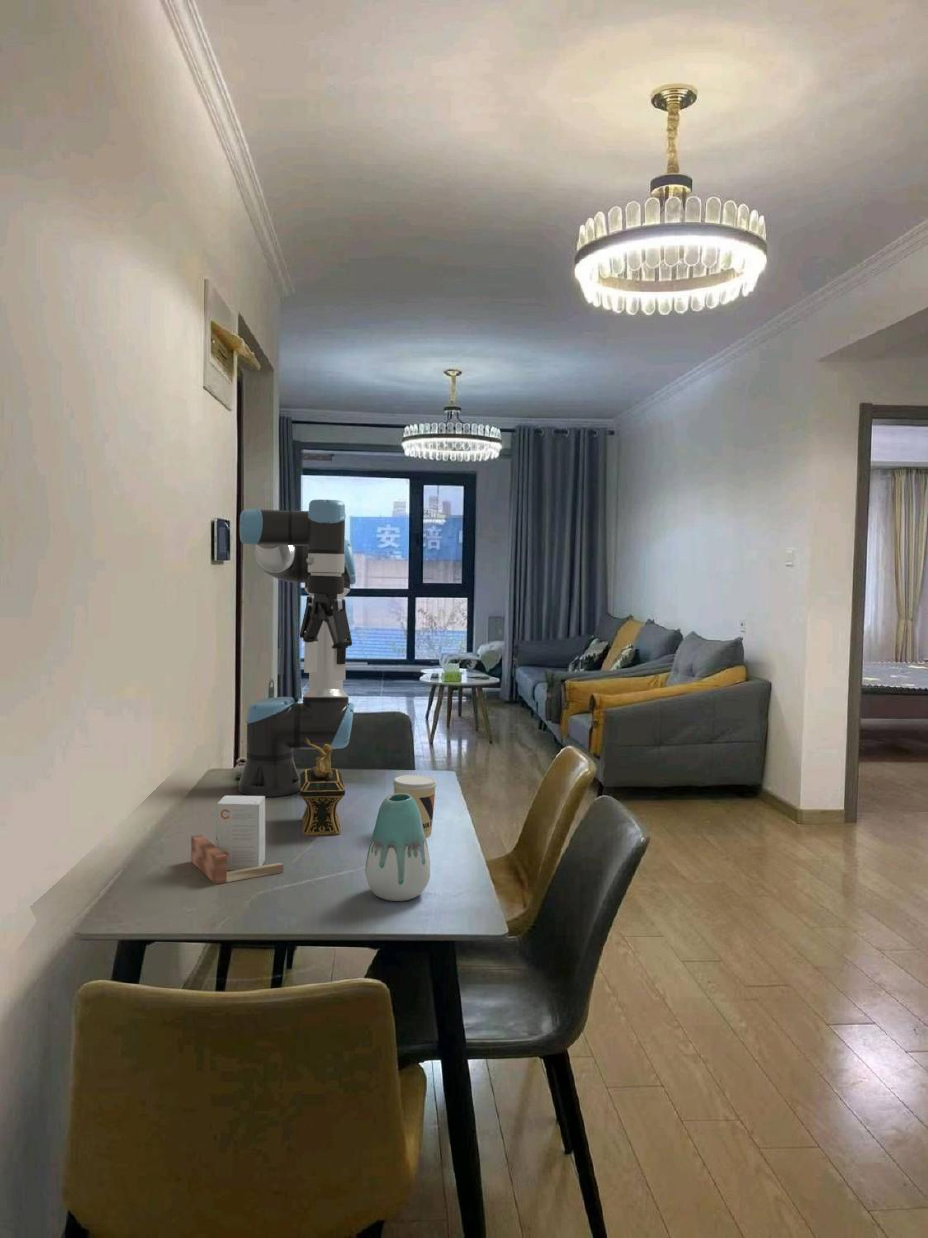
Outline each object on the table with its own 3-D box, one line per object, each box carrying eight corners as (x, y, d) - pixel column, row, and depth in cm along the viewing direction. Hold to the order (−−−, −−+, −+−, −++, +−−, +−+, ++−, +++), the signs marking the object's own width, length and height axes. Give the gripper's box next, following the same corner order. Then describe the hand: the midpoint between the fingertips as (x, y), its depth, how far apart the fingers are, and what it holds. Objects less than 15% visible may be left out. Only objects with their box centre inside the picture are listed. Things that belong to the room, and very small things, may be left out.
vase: (376, 910, 158) (378, 806, 157) (356, 887, 169) (358, 790, 167) (439, 902, 163) (442, 801, 162) (416, 880, 173) (418, 785, 172)
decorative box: (298, 816, 213) (299, 731, 212) (340, 815, 215) (342, 731, 213) (298, 843, 193) (299, 750, 192) (345, 842, 195) (346, 749, 194)
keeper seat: (191, 861, 180) (191, 836, 180) (255, 851, 188) (255, 826, 187) (215, 884, 169) (216, 857, 168) (283, 872, 176) (283, 846, 175)
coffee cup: (429, 842, 197) (430, 786, 196) (386, 838, 199) (387, 782, 198) (439, 829, 206) (440, 776, 205) (398, 826, 208) (399, 773, 207)
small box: (265, 860, 182) (266, 795, 181) (258, 871, 176) (259, 804, 175) (223, 860, 182) (224, 794, 181) (215, 871, 176) (216, 803, 175)
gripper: (285, 572, 201) (283, 670, 203) (335, 576, 181) (334, 684, 182) (317, 573, 205) (315, 668, 207) (370, 576, 185) (368, 682, 186)
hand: (324, 676), depth 194 cm, fingers open, 13 cm apart
